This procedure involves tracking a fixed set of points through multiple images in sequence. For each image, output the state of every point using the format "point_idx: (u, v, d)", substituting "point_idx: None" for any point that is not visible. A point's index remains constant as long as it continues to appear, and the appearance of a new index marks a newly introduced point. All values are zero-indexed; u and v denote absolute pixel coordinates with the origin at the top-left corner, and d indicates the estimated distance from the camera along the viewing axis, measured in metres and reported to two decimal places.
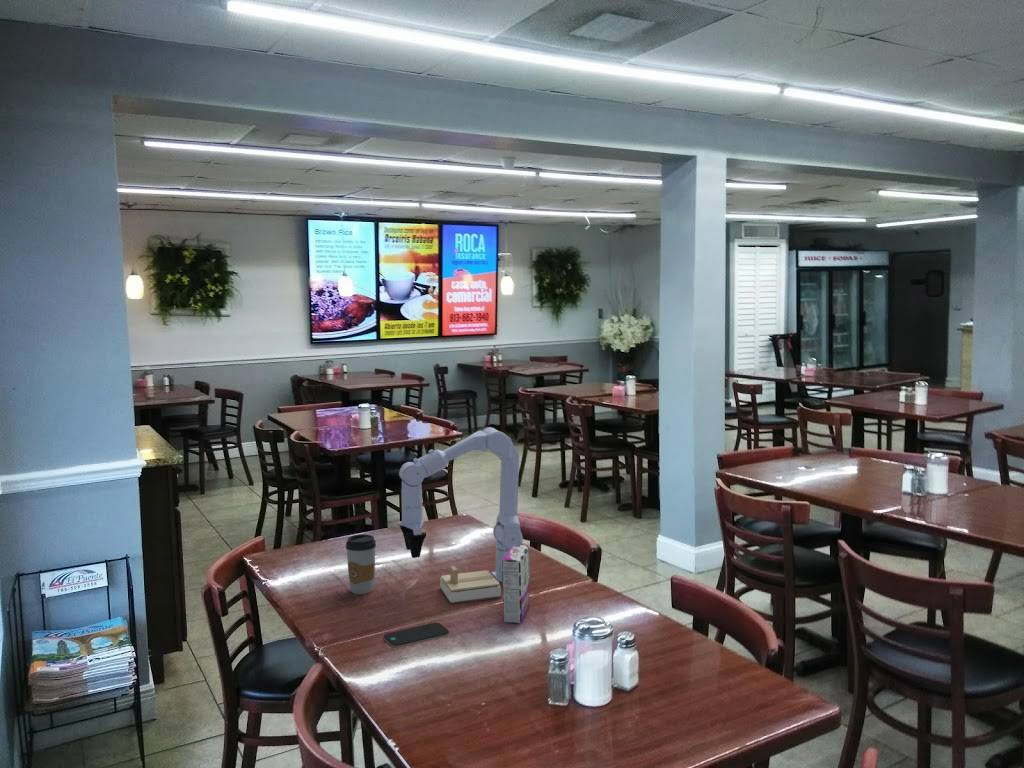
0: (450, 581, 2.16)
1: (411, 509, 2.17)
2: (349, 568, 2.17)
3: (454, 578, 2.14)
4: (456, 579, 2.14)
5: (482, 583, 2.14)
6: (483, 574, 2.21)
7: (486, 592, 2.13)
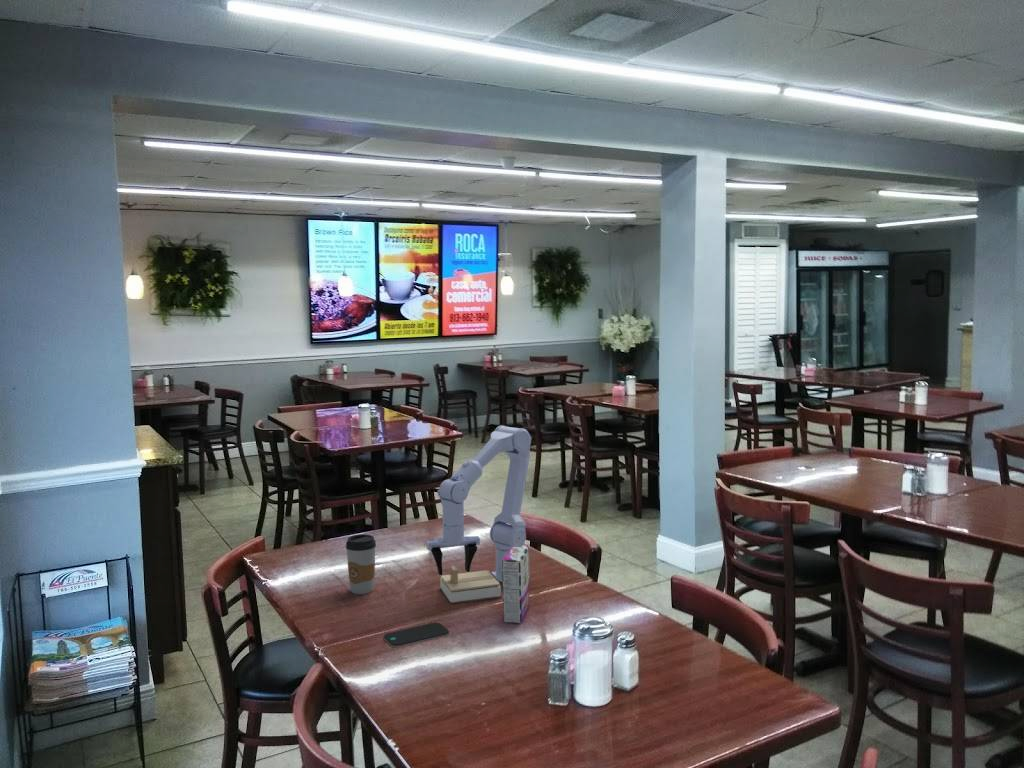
0: (450, 581, 2.16)
1: None
2: (349, 568, 2.17)
3: (454, 578, 2.14)
4: (456, 579, 2.14)
5: (482, 583, 2.14)
6: (483, 574, 2.21)
7: (486, 592, 2.13)
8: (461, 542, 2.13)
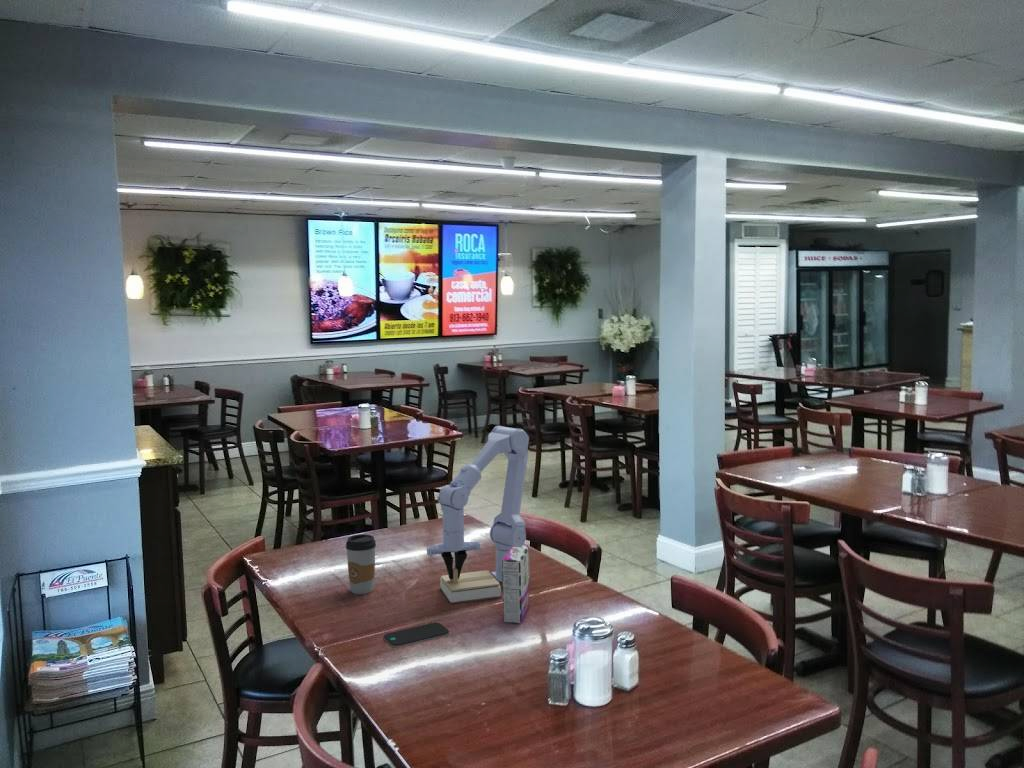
0: (450, 581, 2.16)
1: (443, 531, 2.14)
2: (349, 568, 2.17)
3: (454, 578, 2.14)
4: (456, 579, 2.14)
5: (482, 583, 2.14)
6: (483, 574, 2.21)
7: (486, 592, 2.13)
8: (461, 548, 2.13)
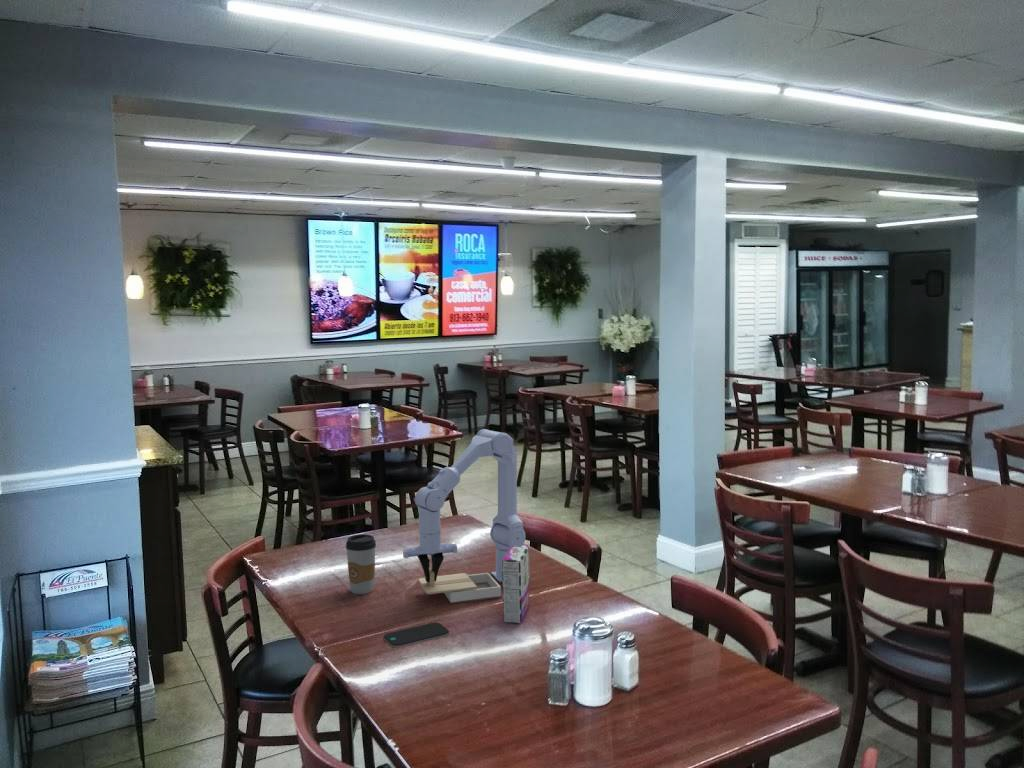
0: (427, 584, 2.14)
1: (419, 533, 2.12)
2: (349, 568, 2.17)
3: (431, 581, 2.12)
4: (433, 582, 2.12)
5: (459, 586, 2.12)
6: (461, 577, 2.19)
7: (486, 592, 2.13)
8: (438, 550, 2.11)
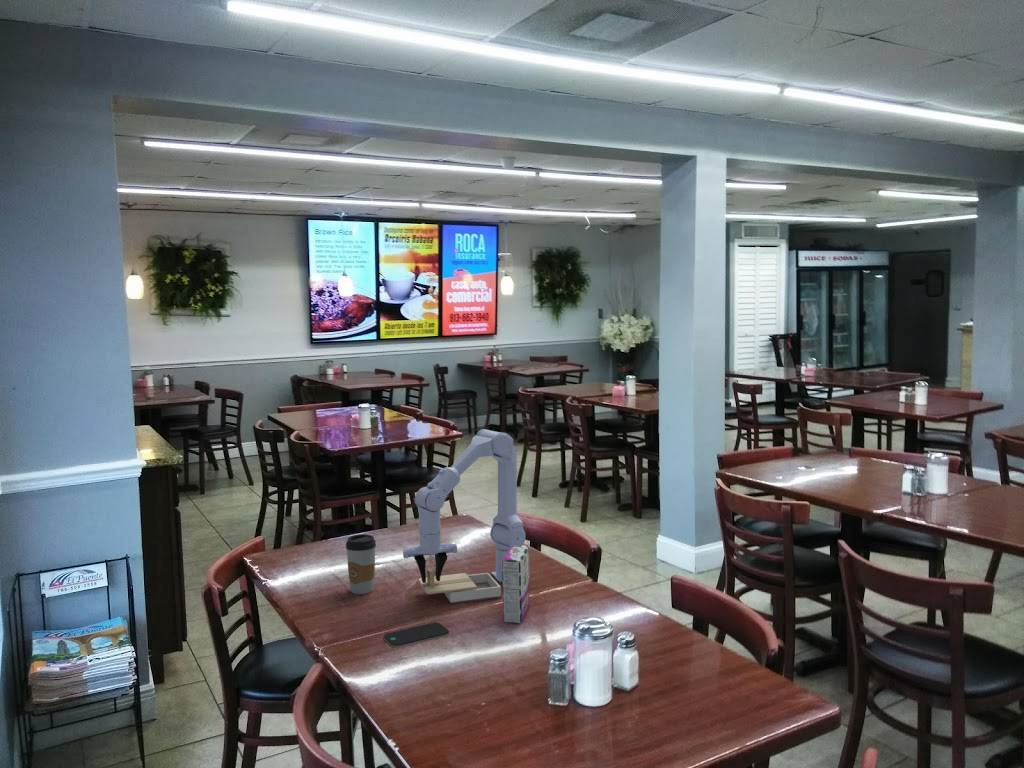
0: (427, 584, 2.14)
1: (419, 533, 2.12)
2: (349, 568, 2.17)
3: (431, 581, 2.12)
4: (433, 582, 2.12)
5: (459, 586, 2.12)
6: (461, 577, 2.19)
7: (486, 592, 2.13)
8: (438, 550, 2.11)
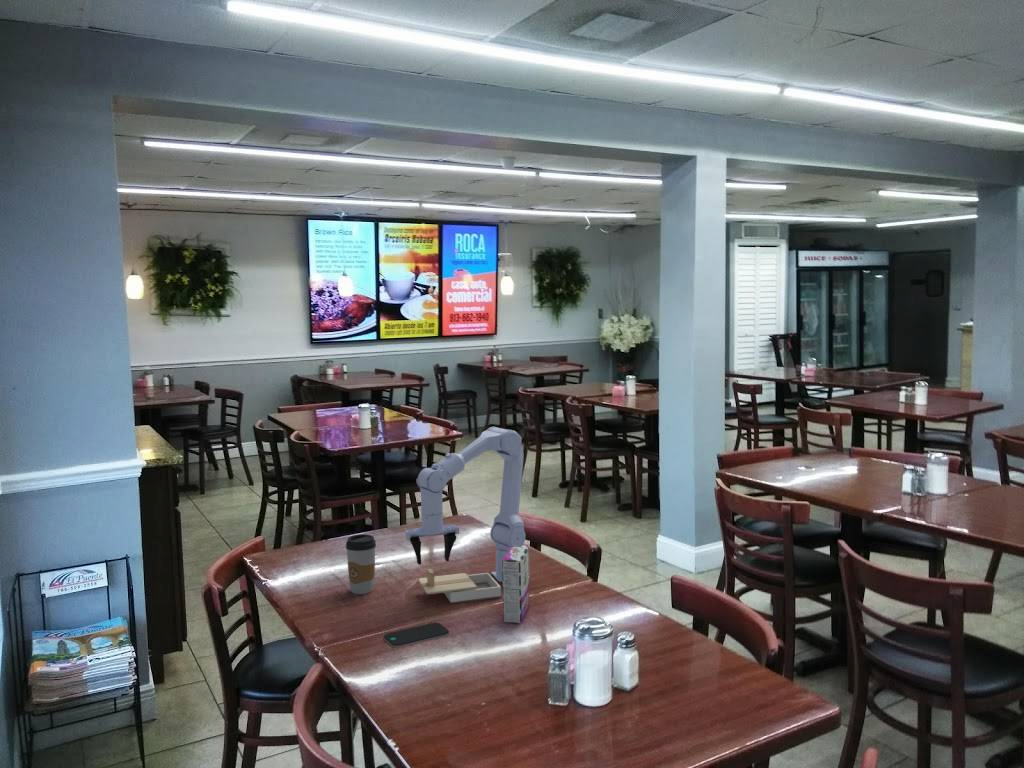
0: (427, 584, 2.14)
1: (421, 514, 2.13)
2: (349, 568, 2.17)
3: (431, 581, 2.12)
4: (433, 582, 2.12)
5: (459, 586, 2.12)
6: (461, 577, 2.19)
7: (486, 592, 2.13)
8: (440, 531, 2.11)
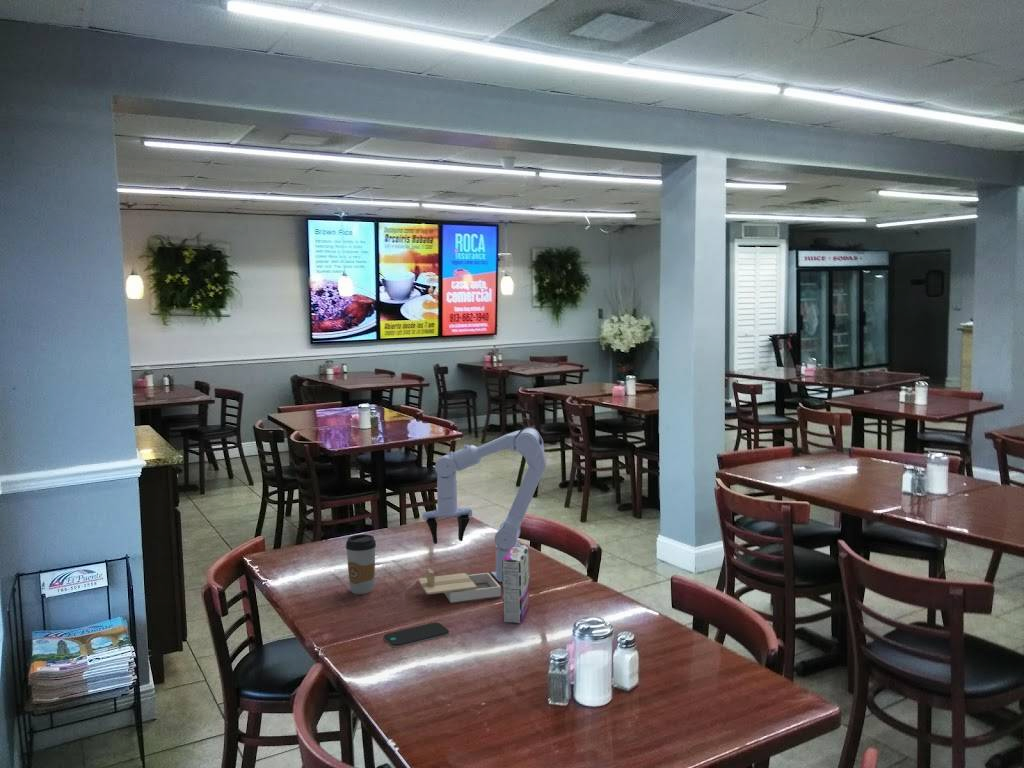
0: (427, 584, 2.14)
1: (437, 497, 2.31)
2: (349, 568, 2.17)
3: (431, 581, 2.12)
4: (433, 582, 2.12)
5: (459, 586, 2.12)
6: (461, 577, 2.19)
7: (486, 592, 2.13)
8: (454, 513, 2.29)
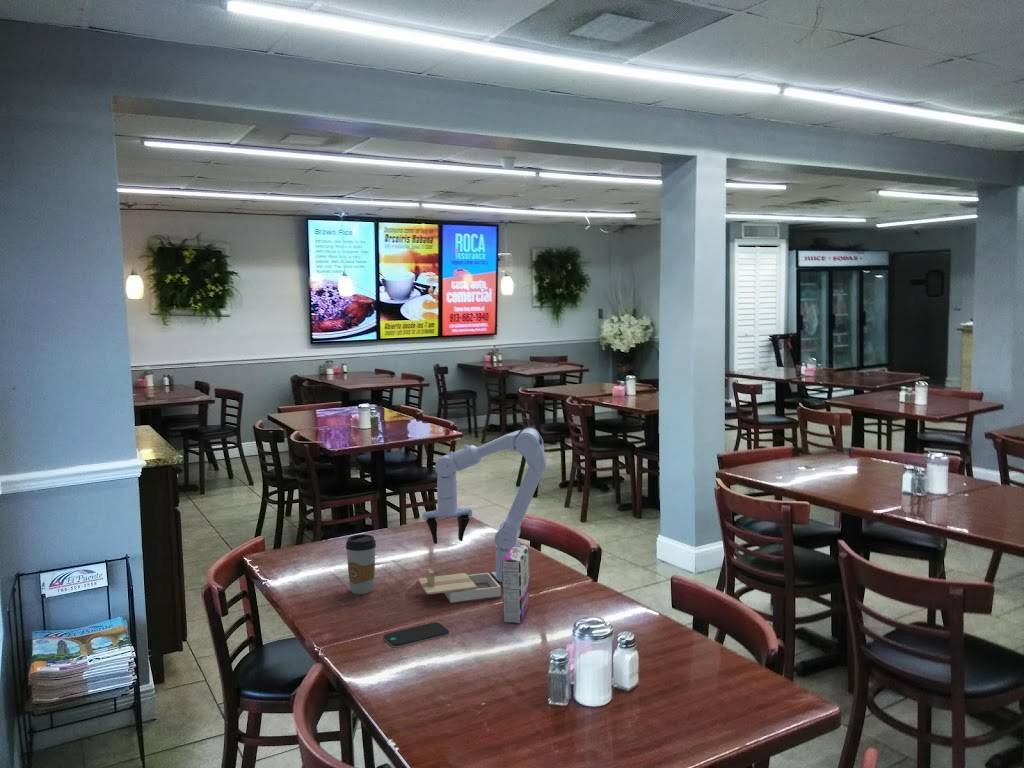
0: (427, 584, 2.14)
1: (437, 497, 2.31)
2: (349, 568, 2.17)
3: (431, 581, 2.12)
4: (433, 582, 2.12)
5: (459, 586, 2.12)
6: (461, 577, 2.19)
7: (486, 592, 2.13)
8: (454, 513, 2.29)
